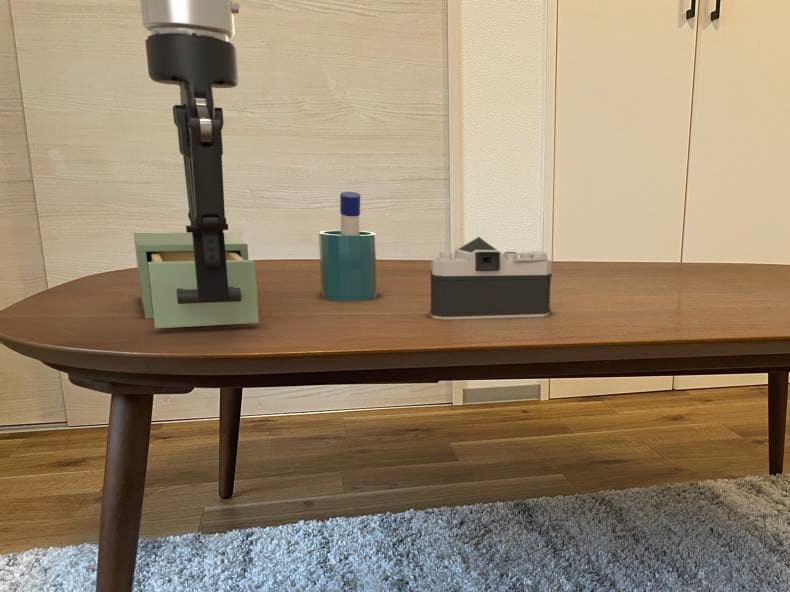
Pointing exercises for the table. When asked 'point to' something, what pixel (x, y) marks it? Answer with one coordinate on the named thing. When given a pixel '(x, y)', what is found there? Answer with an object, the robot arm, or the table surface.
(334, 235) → the pen cup
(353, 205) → the marker
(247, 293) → the drawer
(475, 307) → the camera
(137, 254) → the cabinet
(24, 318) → the table surface
